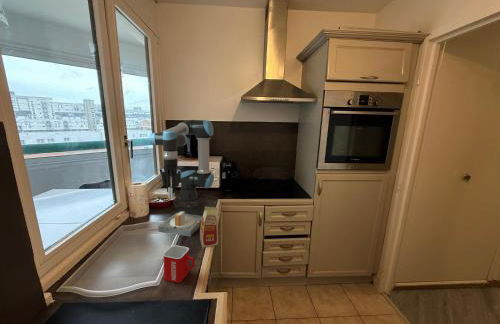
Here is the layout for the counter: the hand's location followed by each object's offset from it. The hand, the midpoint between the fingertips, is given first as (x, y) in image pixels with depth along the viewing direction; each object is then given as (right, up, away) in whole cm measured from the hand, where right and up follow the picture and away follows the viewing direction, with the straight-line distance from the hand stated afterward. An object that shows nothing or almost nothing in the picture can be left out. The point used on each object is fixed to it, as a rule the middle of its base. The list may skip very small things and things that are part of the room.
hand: (171, 197), depth 127 cm
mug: (+18, -26, -38) cm, 49 cm away
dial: (+5, -16, +5) cm, 17 cm away
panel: (+5, -18, +5) cm, 19 cm away
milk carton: (+24, -22, -11) cm, 34 cm away
